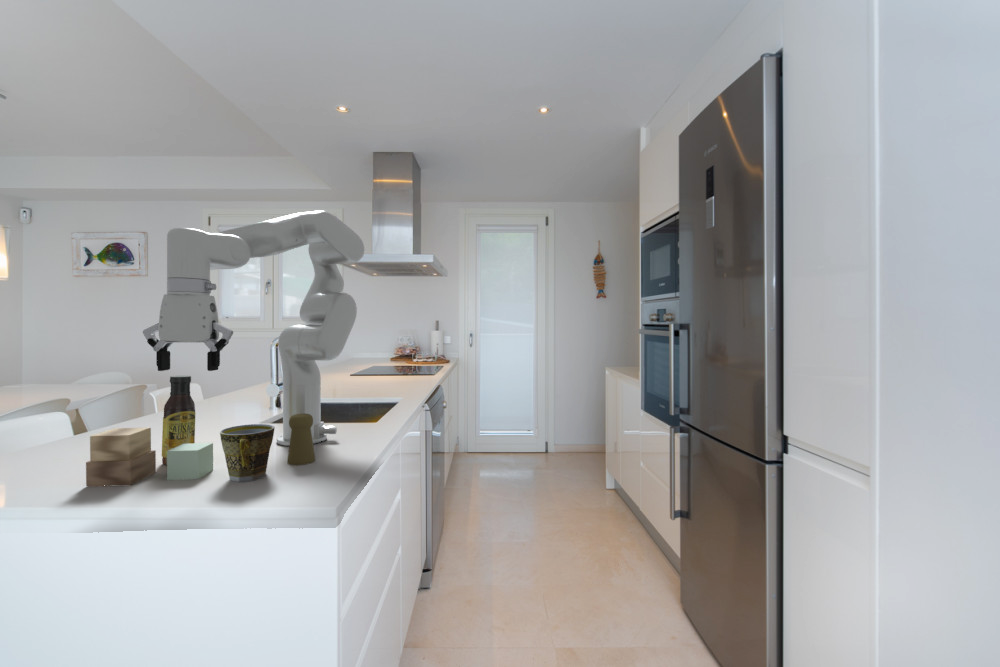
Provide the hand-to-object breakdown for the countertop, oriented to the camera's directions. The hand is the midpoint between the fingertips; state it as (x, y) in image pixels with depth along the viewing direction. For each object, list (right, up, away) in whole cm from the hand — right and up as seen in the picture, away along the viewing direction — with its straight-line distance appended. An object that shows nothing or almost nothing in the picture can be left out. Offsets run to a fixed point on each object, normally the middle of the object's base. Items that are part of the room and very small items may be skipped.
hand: (188, 370), depth 99 cm
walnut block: (-12, -22, -3) cm, 25 cm away
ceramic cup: (+13, -22, -2) cm, 26 cm away
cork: (+19, -22, +11) cm, 31 cm away
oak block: (-12, -17, -3) cm, 21 cm away
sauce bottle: (-9, -22, +10) cm, 26 cm away
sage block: (0, -22, +1) cm, 22 cm away
